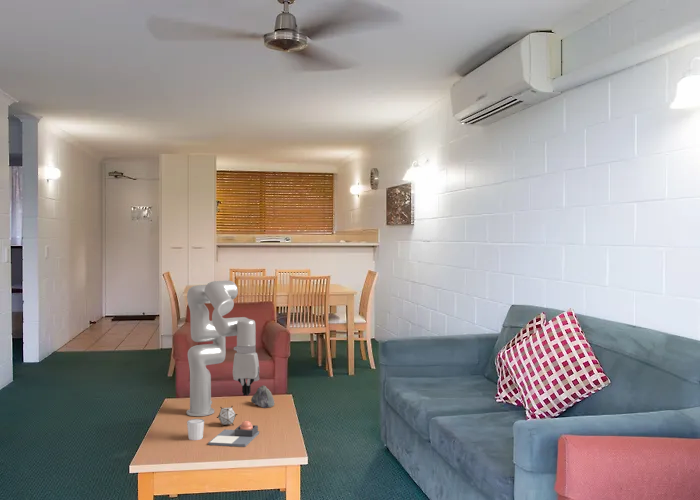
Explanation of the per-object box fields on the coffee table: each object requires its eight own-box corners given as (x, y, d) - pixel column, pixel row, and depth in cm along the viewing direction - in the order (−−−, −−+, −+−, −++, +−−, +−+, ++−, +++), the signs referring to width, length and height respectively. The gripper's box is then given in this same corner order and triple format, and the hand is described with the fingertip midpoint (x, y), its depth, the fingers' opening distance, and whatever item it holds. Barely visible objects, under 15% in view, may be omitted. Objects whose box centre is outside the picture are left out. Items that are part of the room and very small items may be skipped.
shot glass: (188, 441, 257) (188, 423, 257) (185, 436, 263) (185, 419, 263) (205, 439, 260) (205, 422, 260) (202, 434, 266) (202, 417, 266)
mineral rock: (250, 402, 320) (250, 382, 320) (272, 401, 323) (272, 381, 323) (252, 409, 308) (252, 388, 308) (275, 408, 310) (275, 387, 310)
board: (224, 431, 270) (224, 423, 270) (259, 433, 268) (259, 425, 268) (208, 445, 252) (208, 436, 252) (245, 446, 250) (245, 437, 250)
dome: (242, 429, 267) (242, 418, 267) (254, 430, 266) (254, 419, 266) (238, 433, 262) (238, 422, 262) (250, 433, 261) (250, 422, 261)
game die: (229, 434, 279) (231, 419, 273) (212, 426, 280) (213, 411, 275) (239, 420, 286) (241, 405, 280) (222, 412, 288) (224, 397, 282)
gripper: (225, 350, 261) (225, 396, 261) (261, 351, 259) (261, 397, 259) (231, 348, 269) (231, 392, 269) (266, 348, 266) (266, 393, 266)
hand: (246, 394), depth 264 cm, fingers closed
